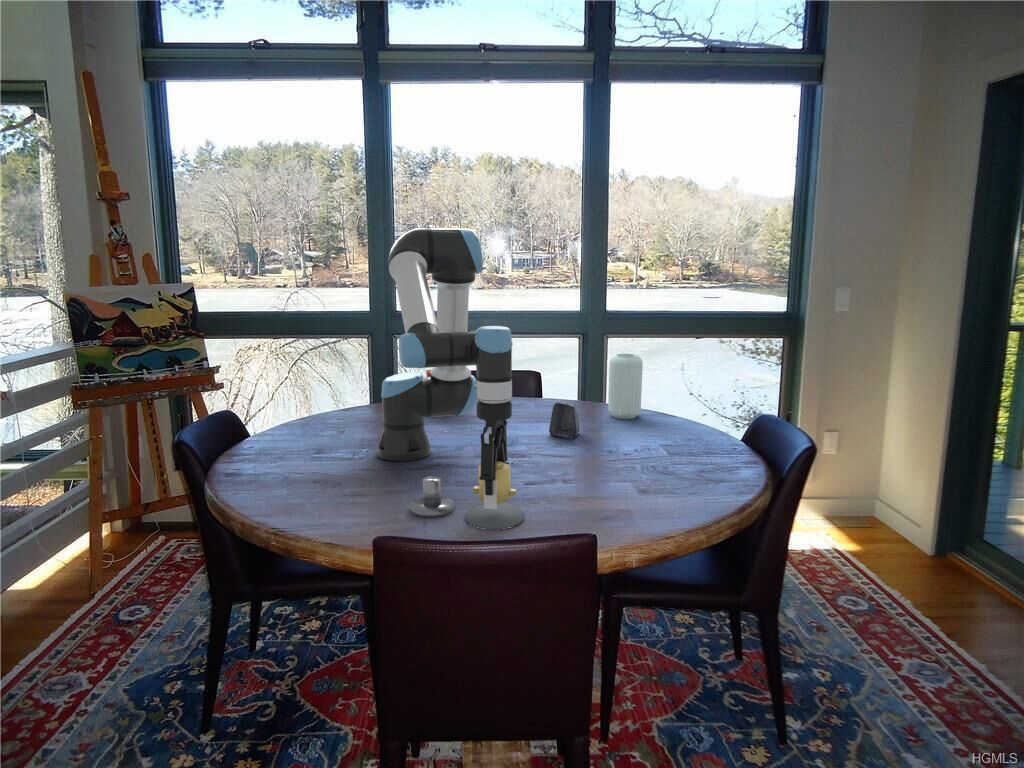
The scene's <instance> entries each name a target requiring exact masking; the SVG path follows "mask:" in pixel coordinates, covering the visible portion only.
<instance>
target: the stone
mask: <svg viewBox="0 0 1024 768" xmlns="http://www.w3.org/2000/svg"><path fill="white" fill-rule="evenodd" d="M579 419H580V418H579V414H578V411H577V407H576V403H575V402H574V403H573V402H572V403H570V402H567V401H560V402H559V401H558V402H555V403H554V404H553V406H552V410H551V418H550V423H549V427H548V428H549V430H548V431H549V435H550V436H553V437H554V436H555V437H557V438H558V437H559V438H560V437H561V438H566V439H575V438H577V436H578V434H579V432H580V420H579Z"/></svg>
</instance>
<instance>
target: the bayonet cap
mask: <svg viewBox="0 0 1024 768" xmlns="http://www.w3.org/2000/svg"><path fill="white" fill-rule="evenodd" d="M511 468H512V467H511V465H510V464H509V465H508V464H505V463H503V462H501V461H497V462H496V475H495V477H496V479H497V504H498V503H501V504H505V503H506V502H508V501H510V500H511V499H512V498H513V497H514V498H515V497H516V496H517V489H516V488H511V487H512V486H511V485H512V483H511V481H512V480H511V474H512V471H511ZM480 476H481V464H480V465H479V466H478V485H475V486H473V488H472V491H473V492H472V494H476V495H477V494H478V500H479V501H480V502H482V503H484V480H480V479H479V477H480Z"/></svg>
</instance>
